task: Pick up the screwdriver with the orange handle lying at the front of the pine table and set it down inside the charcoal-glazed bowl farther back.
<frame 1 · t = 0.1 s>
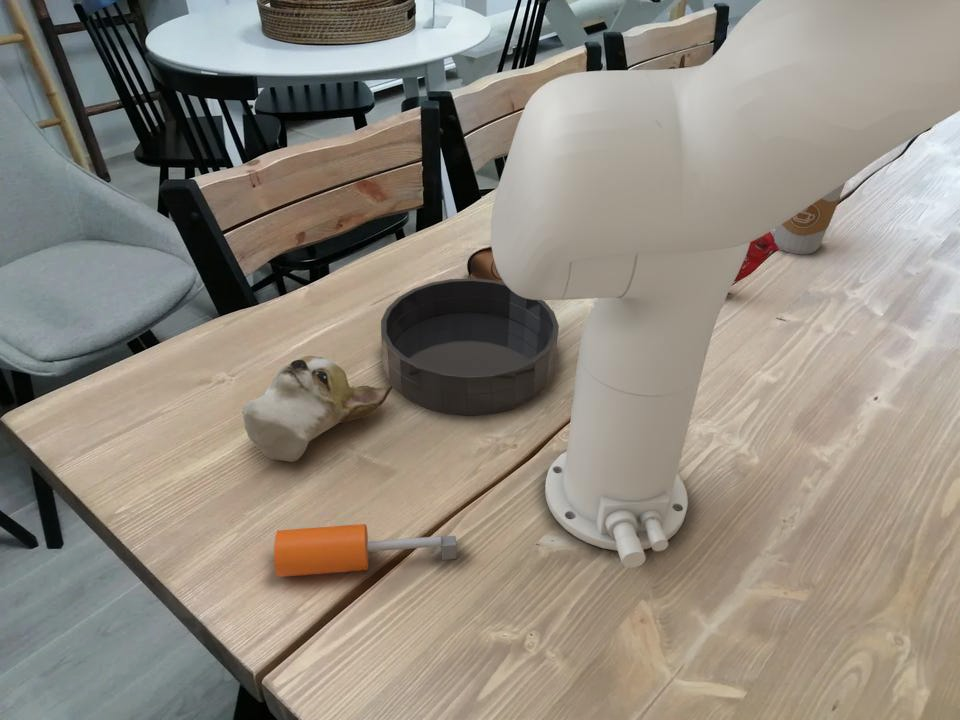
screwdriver: (368, 561, 61), on the table
ceramic sculpture: (312, 429, 74), on the table
bowl: (469, 359, 83), on the table
sunglasses case: (534, 266, 101), on the table
coffee cup: (794, 246, 108), on the table
decorative bird figurine: (694, 290, 97), on the table
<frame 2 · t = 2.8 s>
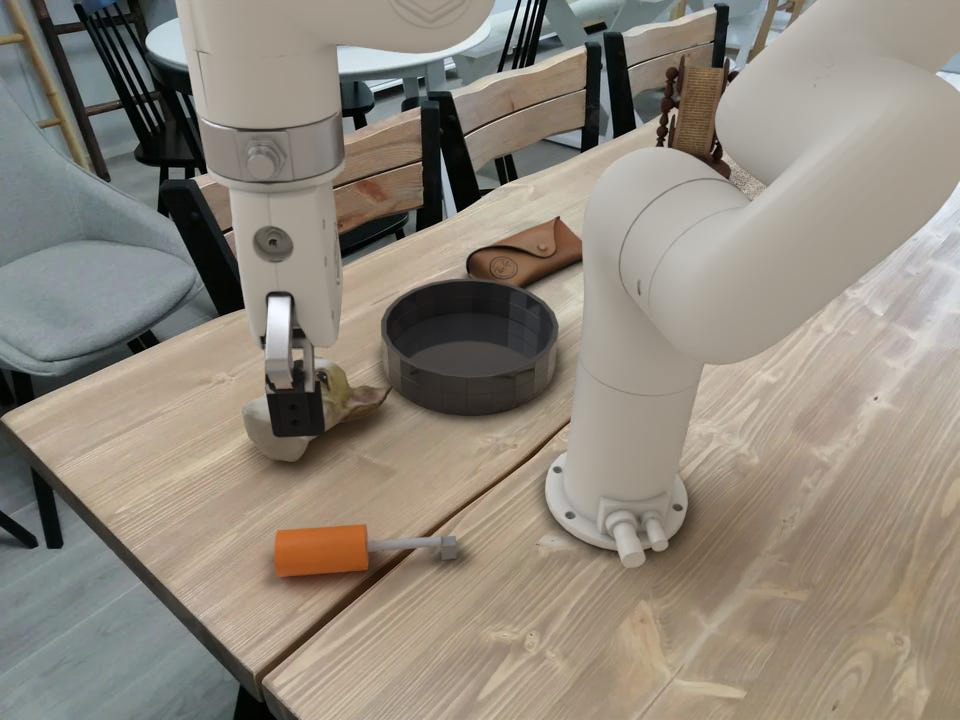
hand: (306, 386, 51), 18 cm above the table, tool pointing down, fingers open, 9 cm apart
nothing on the table moved.
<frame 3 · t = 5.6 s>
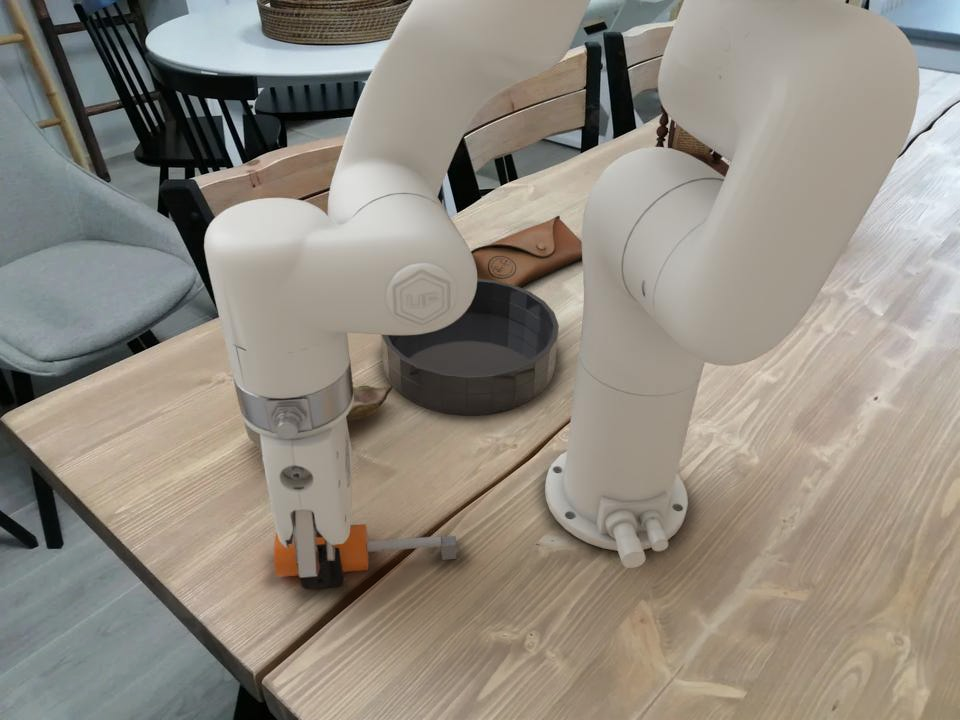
hand: (324, 560, 60), 0 cm above the table, tool pointing down, fingers closed on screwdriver, 3 cm apart
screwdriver: (368, 561, 61), on the table, touching gripper
everything else where it was.
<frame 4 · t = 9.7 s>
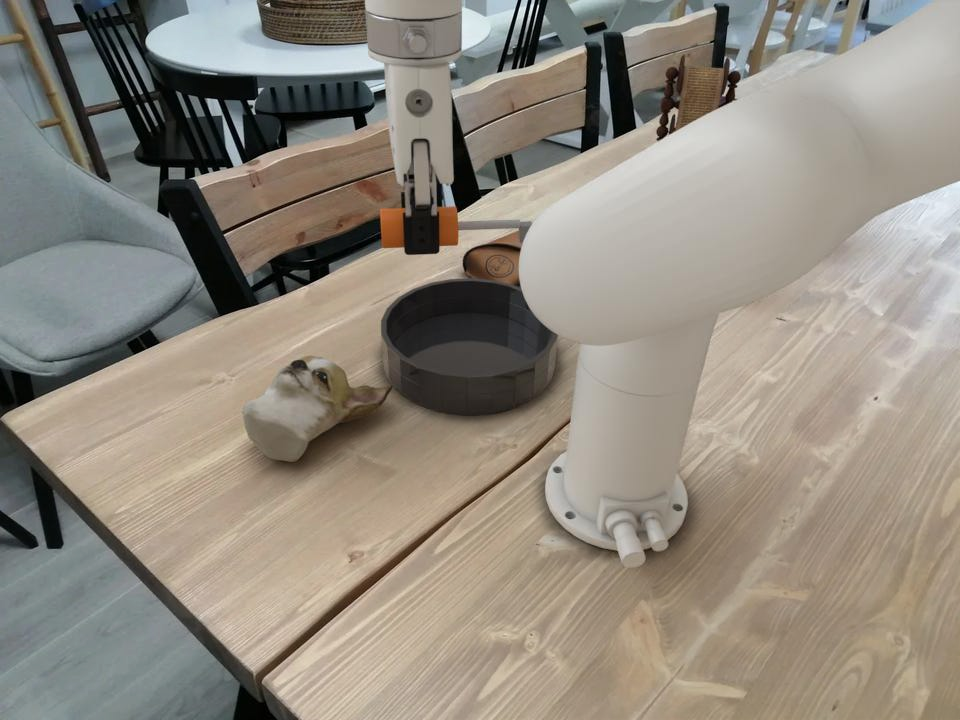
hand: (420, 240, 70), 17 cm above the table, tool pointing down, fingers closed on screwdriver, 3 cm apart
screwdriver: (456, 243, 70), point 17 cm above the table, touching gripper
everything else where it was.
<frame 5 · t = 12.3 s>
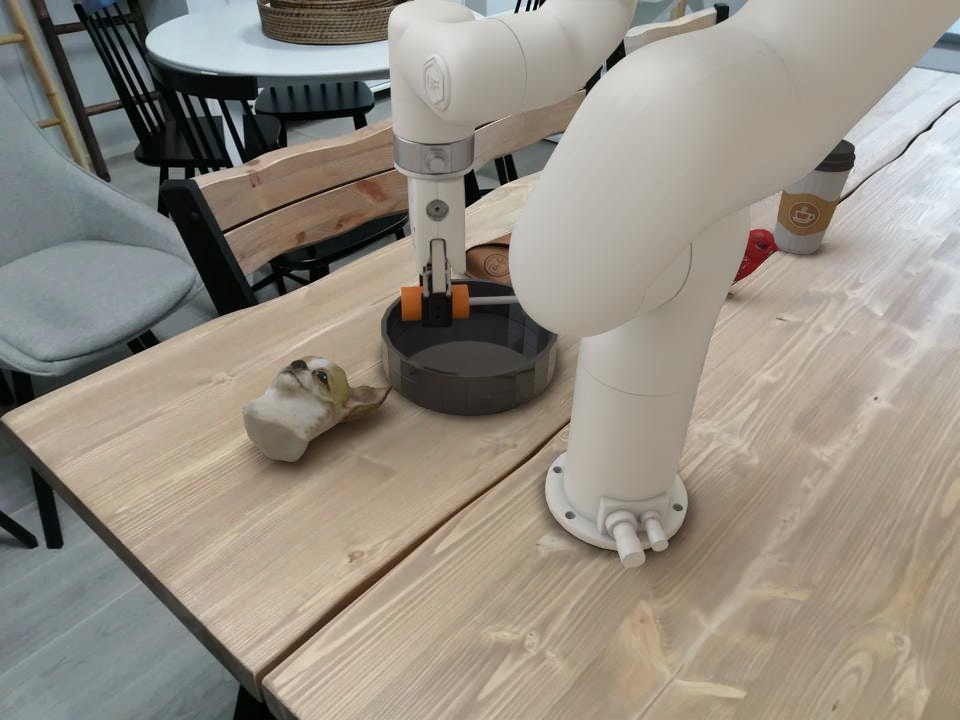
hand: (435, 313, 79), 6 cm above the table, tool pointing down, fingers closed on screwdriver, 3 cm apart
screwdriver: (467, 315, 80), point 6 cm above the table, touching gripper
everything else where it was.
when the fingers open (1 cm above the table, at t = 13.9 s): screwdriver stays where it is, resting on bowl.
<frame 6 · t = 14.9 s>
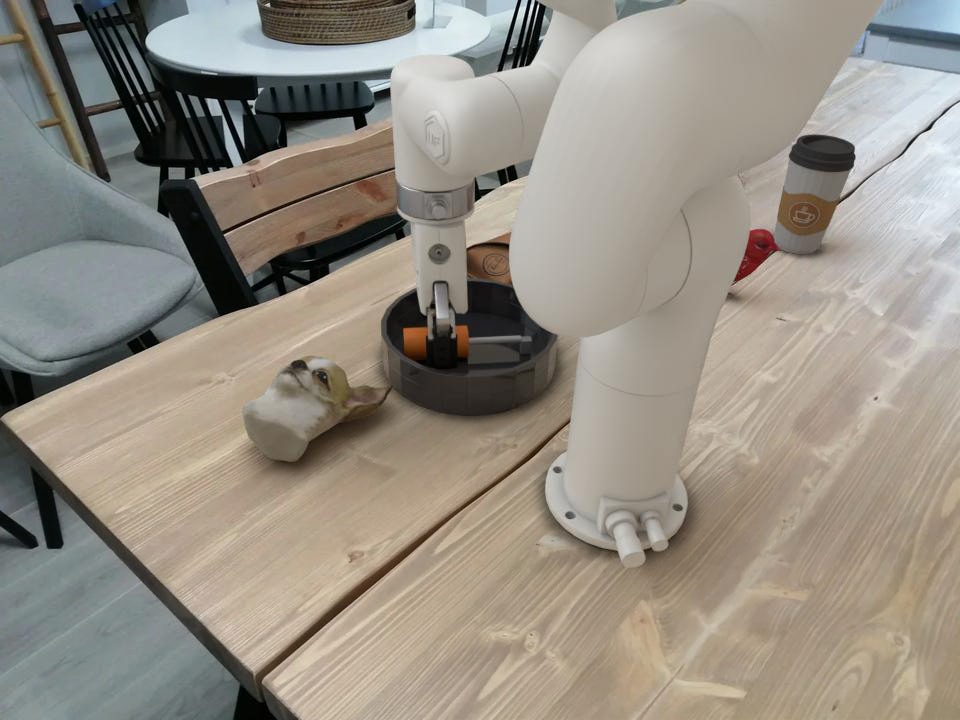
hand: (439, 341, 81), 3 cm above the table, tool pointing down, fingers open, 9 cm apart
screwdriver: (467, 354, 83), point 1 cm above the table, touching bowl
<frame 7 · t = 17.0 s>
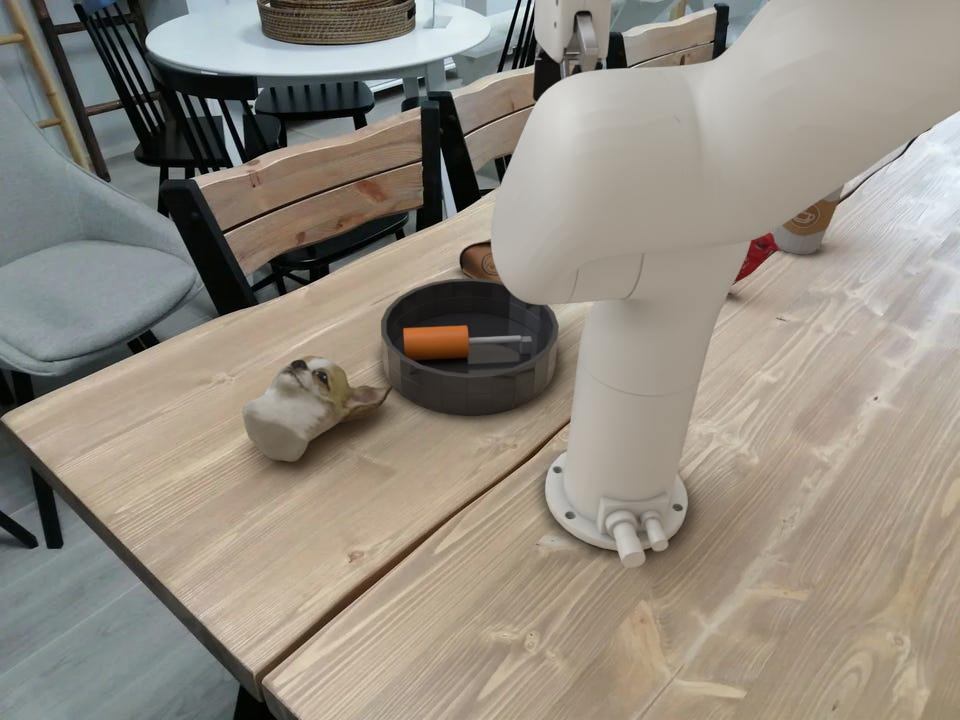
hand: (559, 115, 72), 26 cm above the table, tool pointing down, fingers open, 9 cm apart
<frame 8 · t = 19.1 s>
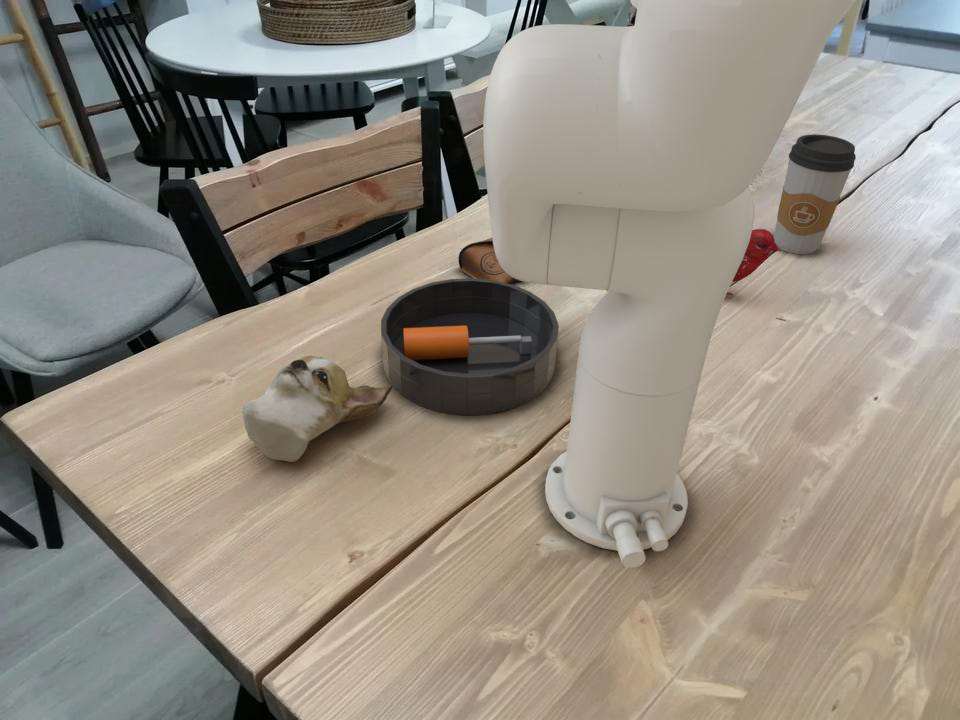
hand: (651, 78, 75), 28 cm above the table, tool pointing down, fingers open, 9 cm apart
at the end: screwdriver inside the target area in the bowl (0.3 cm from its centre), point 0.6 cm above the bowl's base; the gripper is holding nothing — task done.
